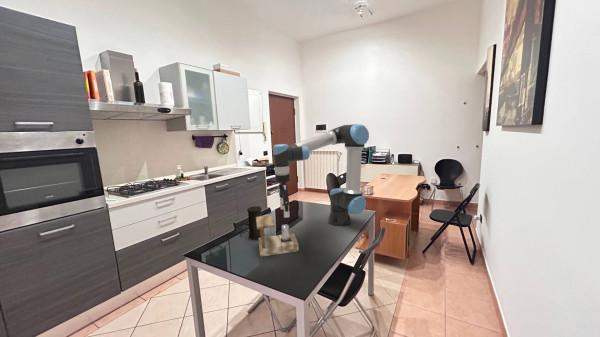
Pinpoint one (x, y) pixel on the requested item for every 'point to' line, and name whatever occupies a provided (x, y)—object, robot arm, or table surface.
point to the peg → (285, 233)
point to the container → (254, 222)
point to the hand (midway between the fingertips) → (284, 212)
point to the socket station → (274, 239)
